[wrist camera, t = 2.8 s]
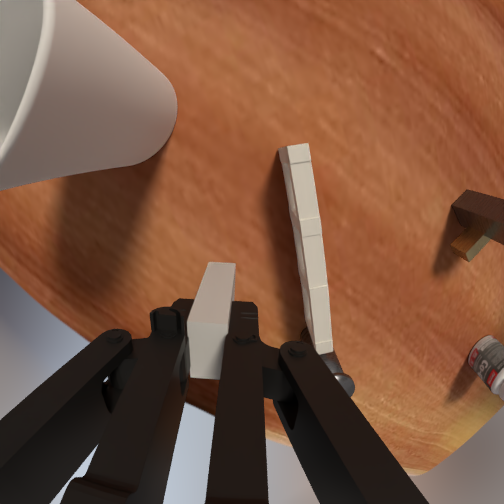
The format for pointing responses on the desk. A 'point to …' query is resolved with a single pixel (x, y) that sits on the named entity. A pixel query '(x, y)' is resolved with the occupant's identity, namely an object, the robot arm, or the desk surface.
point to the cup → (74, 95)
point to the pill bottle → (489, 363)
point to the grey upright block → (477, 223)
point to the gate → (308, 243)
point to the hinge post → (332, 364)
